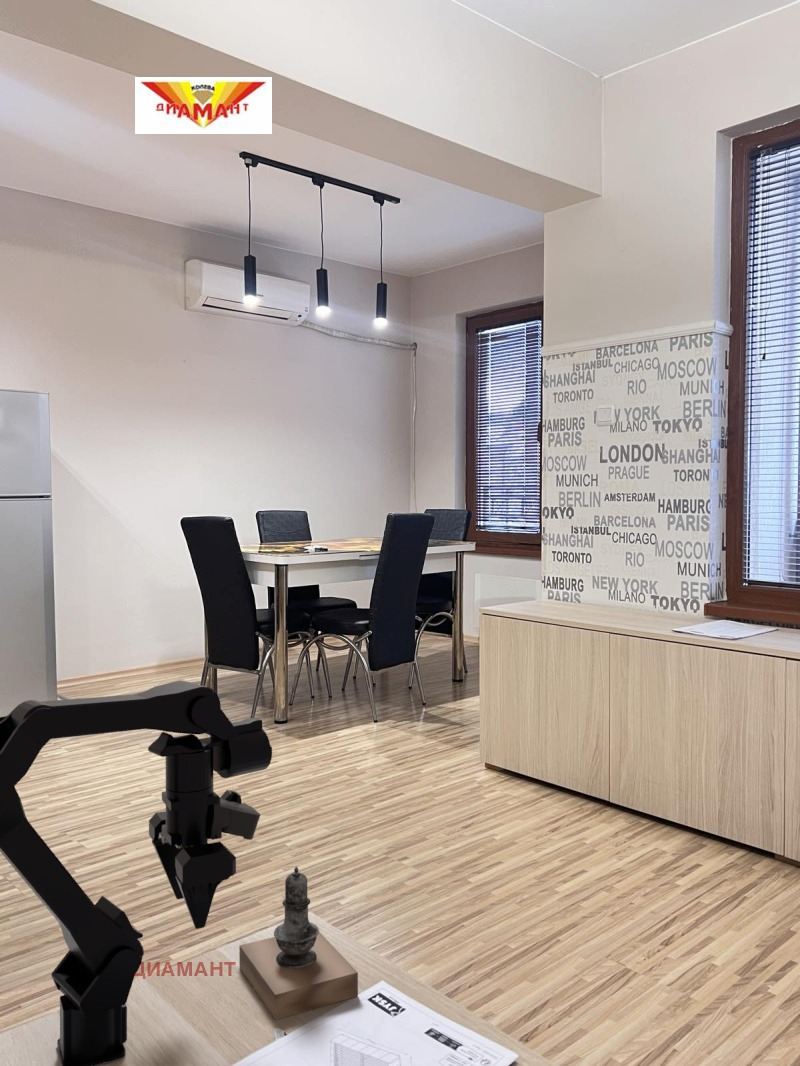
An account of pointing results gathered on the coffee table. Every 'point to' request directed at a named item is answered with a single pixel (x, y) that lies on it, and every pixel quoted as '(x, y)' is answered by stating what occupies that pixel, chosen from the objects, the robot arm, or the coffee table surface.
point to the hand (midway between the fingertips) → (189, 912)
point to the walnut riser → (297, 977)
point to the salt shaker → (296, 926)
